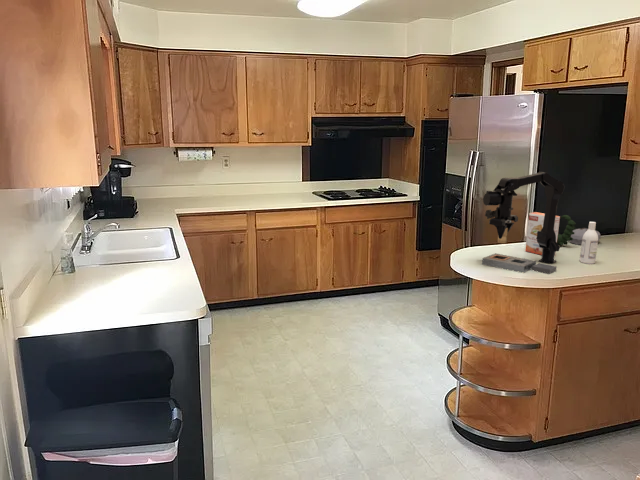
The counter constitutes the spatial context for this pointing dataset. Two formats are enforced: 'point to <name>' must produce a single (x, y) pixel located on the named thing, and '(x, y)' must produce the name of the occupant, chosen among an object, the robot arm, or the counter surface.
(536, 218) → the cracker box
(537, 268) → the grey square base
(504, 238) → the barrel peg
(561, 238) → the toy figurine
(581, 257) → the bath foam
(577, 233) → the grey rounded bag
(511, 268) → the plate
